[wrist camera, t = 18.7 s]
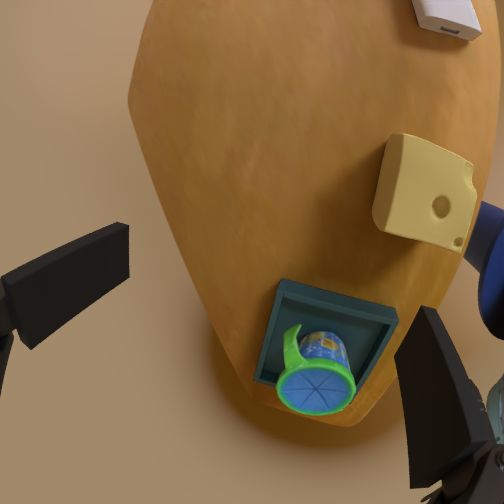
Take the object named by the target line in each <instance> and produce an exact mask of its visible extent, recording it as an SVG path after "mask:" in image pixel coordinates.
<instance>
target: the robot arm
mask: <svg viewBox="0 0 504 504" xmlns="http://www.w3.org/2000/svg"><path fill="white" fill-rule="evenodd" d="M129 277H130V276H129V225H126V224H123V223H119V222H116V223H113V224H111V225H108V226H106V227H104V228H101V229H99V230H96V231H94V232H92V233H89V234H87V235H85V236H83V237H80V238H78V239H76V240H74V241H72V242H69V243H67V244H65V245H63V246H61V247H58V248H56V249H54V250H52V251H50V252H48V253H46V254H44V255H42V256H40V257H38V258H36V259H34V260H32V261H30V262H28V263H26V264H24V265H22V266H20V267H18V268H16V269H14V270H12V271H10V272H8V273H7V274H5V275H3V276H1V279H0V395H1V389H2V384H3V379H4V375H5V370H6V366H7V362H8V358H9V354H10V351H11V346H12V344H13V340H14V335H13V333H12V331H13V330H14V329H17V332H18V335H19V337H20V340H21V341H22V342H23V343H24V344H25V345H26V346H27V347H28V348H29V349H30V350H32V349H33V348H34V347H36V346H37V345H38V344H39V343H41V342H42V341H43V340H45V339H46V338H47V337H48V336H49V335H51V334H52V333H54V332H55V331H56V330H57V329H59V328H60V327H61V326H63V325H64V324H65V323H67V322H68V321H69V320H70V319H72V318H73V317H75V316H76V315H77V314H79V313H80V312H82V311H83V310H84V309H86V308H87V307H88V306H90V305H91V304H93V303H94V302H95V301H96V300H98V299H99V298H101V297H102V296H103V295H105V294H106V293H108V292H109V291H110V290H112V289H114V288H115V287H116V286H118V285H119V284H121V283H122V282H124V281H125V280H126V279H128V278H129ZM394 359H395V364H396V369H397V374H398V379H399V385H400V390H401V397H402V404H403V410H404V418H405V425H406V435H407V445H408V457H409V475H410V489H414V488H428V487H430V486H431V485H433V484H435V483H436V482H438V481H439V480H442V486H441V487H440V488H438V489H437V490H435V491H434V492H432V493H431V494H429V495H427V496H425V497H424V498H423V499H422V500H421V502H424V501H426V500H428V499H429V498H431V499H430V500H429V502H428V503H427V504H504V374H503V376H502V378H501V379H500V380H499V381H498V382H497V383H496V384H495V385H494V386H493V387H492V388H491V390H490V391H489V394H488V397H487V403H486V408H487V412H485V410H486V408H485V405H484V403H482V397H481V395H480V392H479V390H478V388H477V387H476V386H475V384H474V383H473V382H472V380H471V379H469V378H468V376H467V374H466V371H465V369H464V366H463V364H462V362H461V359H460V357H459V355H458V353H457V351H456V349H455V346H454V344H453V342H452V340H451V338H450V336H449V334H448V332H447V330H446V328H445V326H444V324H443V322H442V320H441V318H440V317H439V315H438V313H437V311H436V309H433V308H430V307H426V306H422V305H421V307H420V309H419V311H418V313H417V315H416V317H415V319H414V321H413V323H412V325H411V326H410V328H409V330H408V332H407V334H406V336H405V338H404V339H403V341H402V343H401V345H400V347H399V348H398V350H397V352H396V353H395V355H394Z"/></svg>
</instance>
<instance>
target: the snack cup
mask: <svg viewBox="0 0 504 504" xmlns="http://www.w3.org/2000/svg"><path fill="white" fill-rule="evenodd" d="M301 326H302V325H301V324H298V325H296V326H294V327H292V328H290V329H288V330H287V331H286V332H285V333H284V336H283V339H284V342H283V343H284V347H283V353H284V362H285V367H286V368H285V369H284V370H283V372H282V373H281V375H280V376H279V379H278V382H277V383H276V391H277V394H278V397H279V399H280V400H281V401H282V403H284V404H285V405H286V406H287V407H288V408H290V409H292V410H294V411H296V412H299V413H302V414H307V415H327V414H333V413H337V412H340V411H342V410H344V408H345V407H346V406H347V405H348V404H349V403H350V402H351V400H352V398H353V396H354V394H355V393H356V385H355V381H354V378H353V375H352V373H351V371H350V367H349V362H348V358H347V354H346V349H345V346H344V343H343V341H342V340H341V339H340V338H339V337H338V336H337V335H335V334H334V333H333V332H326V331H316V332H310V333H308V334H307V335H306V336H305V337H304V338H302V339H301V341H300V342H299V343H298V344H297V340H296V336H297V334H298V332H299V330H300V328H301Z"/></svg>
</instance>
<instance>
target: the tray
mask: <svg viewBox="0 0 504 504" xmlns="http://www.w3.org/2000/svg"><path fill="white" fill-rule="evenodd" d="M398 322H399V319H398V316H397V313H396V310H395V308H392V307H388V306H384V305H380V304H376V303H372V302H368V301H364V300H361V299H357V298H353V297H349V296H345V295H342V294H338V293H334V292H330V291H327V290H323V289H319V288H315V287H312V286H308V285H304V284H301V283H297V282H293V281H290V280H286V279H283V278H282V279H281V281H280V284H279V286H278V289H277V292H276V296H275V300H274V304H273V308H272V312H271V316H270V319H269V323H268V327H267V331H266V334H265V338H264V342H263V345H262V349H261V353H260V356H259V360H258V364H257V367H256V371H255V374H254V378H253V381H256V382H260V383H263V384H266V385H270V386H273V387H276V383H277V382H278V379H279V376H280V375H281V373H282V372H283V370H284V369H285V368H286V367H285V362H284V353H283V347H284V343H283V342H284V339H283V336H284V333H285V332H286V331H287V330H288V329H290V328H292V327H294V326H296V325H298V324H301V325H302V326H301V328H300V330H299V332H298V334H297V336H296V340H297V344H298V343H299V342H300V341H301V339H302V338H304V337H305V336H306V335H307V334H308V333H310V332H316V331H326V332H333V333H334V334H335V335H337V336H338V337H339V338H340V339H341V340H342V341H343V343H344V346H345V349H346V354H347V358H348V362H349V367H350V371H351V373H352V375H353V378H354V381H355V385H356V393H355V394H354V396H353V398H352V400H351V402H352V401H353V399H354V398H355V396H356V395H357V393H358V392H359V390H360V389H361V387H362V386H363V384H364V382H365V381H366V379H367V378H368V376H369V374H370V373H371V371H372V370H373V368H374V366H375V365H376V363H377V361H378V359H379V358H380V356H381V354H382V352H383V351H384V349H385V347H386V345H387V343H388V342H389V340H390V338H391V336H392V334H393V332H394V330H395V328H396V326H397V324H398ZM351 402H350V403H349V404H351Z"/></svg>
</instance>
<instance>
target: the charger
mask: <svg viewBox="0 0 504 504" xmlns="http://www.w3.org/2000/svg"><path fill="white" fill-rule="evenodd" d="M412 3H413V6H414V10H415V13H416V16H417V20H418V24H419V27H421V28H423V29H427V30H431V31H435V32H439V33H443V34H447V35H451V36H454V37H457V38H461V39H464V40H470V41H471V40H474V39H475V38H477V37H478V36H480V35H481V34H482V32H481V28H480V25H479V22H478V19H477V17H476V14H475V11H474V8H473V6H472V3H471V1H470V0H412ZM440 29H443V30H440ZM444 30H447V31H451V32H454V33H451V32H447V31H444ZM455 33H457V34H455Z"/></svg>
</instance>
